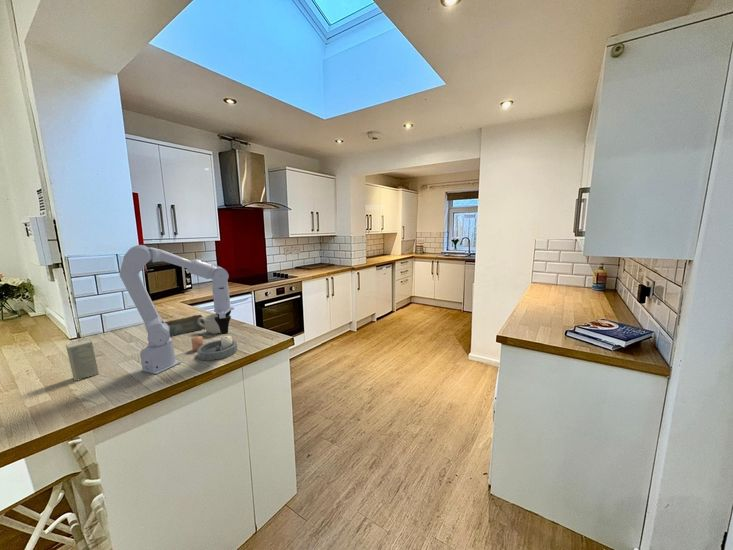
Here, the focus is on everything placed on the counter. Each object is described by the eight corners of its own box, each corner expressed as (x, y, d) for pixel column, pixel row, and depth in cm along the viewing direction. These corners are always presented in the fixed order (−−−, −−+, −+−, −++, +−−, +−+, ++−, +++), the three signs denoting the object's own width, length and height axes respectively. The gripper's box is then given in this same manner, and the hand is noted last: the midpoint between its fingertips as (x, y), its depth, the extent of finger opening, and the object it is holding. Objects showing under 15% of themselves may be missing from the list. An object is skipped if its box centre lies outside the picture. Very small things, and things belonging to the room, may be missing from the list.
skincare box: (96, 370, 104) (90, 338, 102) (99, 374, 102) (92, 341, 100) (72, 378, 100) (65, 344, 98) (74, 382, 97) (66, 347, 95)
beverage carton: (158, 334, 140) (156, 321, 139) (202, 325, 152) (201, 313, 151) (159, 339, 134) (157, 325, 133) (206, 329, 146) (204, 316, 145)
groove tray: (217, 362, 108) (216, 355, 108) (189, 357, 113) (189, 350, 113) (245, 348, 121) (244, 341, 121) (219, 344, 126) (218, 337, 126)
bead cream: (227, 351, 116) (226, 339, 115) (219, 350, 117) (218, 338, 116) (235, 347, 119) (233, 336, 119) (227, 346, 121) (226, 335, 120)
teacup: (234, 328, 146) (232, 312, 145) (221, 336, 135) (219, 319, 134) (208, 327, 147) (206, 312, 146) (193, 335, 137) (191, 319, 136)
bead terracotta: (197, 352, 118) (196, 340, 118) (190, 350, 120) (189, 339, 119) (206, 348, 122) (204, 336, 121) (199, 346, 124) (197, 335, 123)
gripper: (232, 300, 110) (236, 335, 112) (232, 293, 123) (235, 324, 125) (211, 302, 107) (215, 338, 109) (214, 295, 120) (217, 326, 122)
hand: (225, 330), depth 117 cm, fingers open, 7 cm apart
